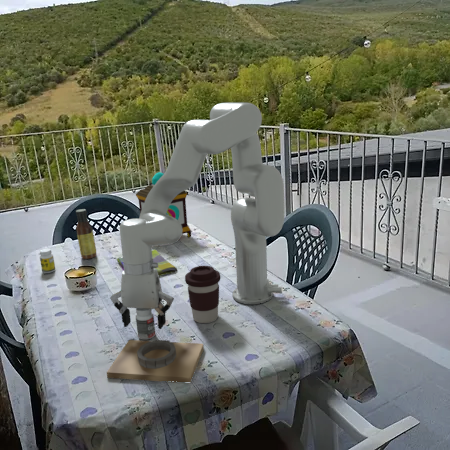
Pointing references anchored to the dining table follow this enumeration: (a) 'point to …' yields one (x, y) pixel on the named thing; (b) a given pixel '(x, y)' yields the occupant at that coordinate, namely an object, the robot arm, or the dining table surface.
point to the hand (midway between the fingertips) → (144, 325)
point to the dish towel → (163, 264)
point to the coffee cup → (203, 293)
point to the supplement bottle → (47, 261)
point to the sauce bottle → (85, 235)
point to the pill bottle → (145, 323)
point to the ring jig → (156, 361)
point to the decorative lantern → (175, 208)
